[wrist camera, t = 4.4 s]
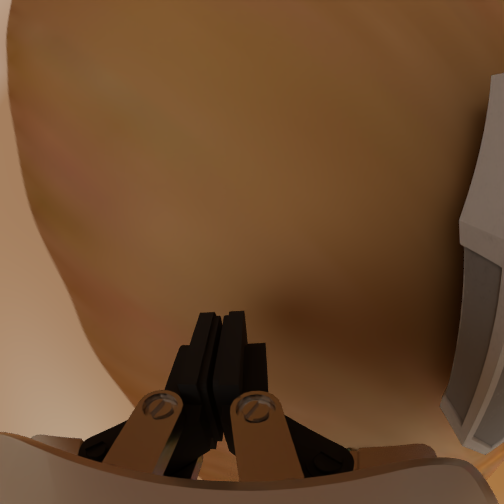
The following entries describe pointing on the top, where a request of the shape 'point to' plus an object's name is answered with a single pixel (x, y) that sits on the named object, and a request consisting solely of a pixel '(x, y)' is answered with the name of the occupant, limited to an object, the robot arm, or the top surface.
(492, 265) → the first aid kit
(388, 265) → the top surface
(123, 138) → the top surface
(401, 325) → the top surface
